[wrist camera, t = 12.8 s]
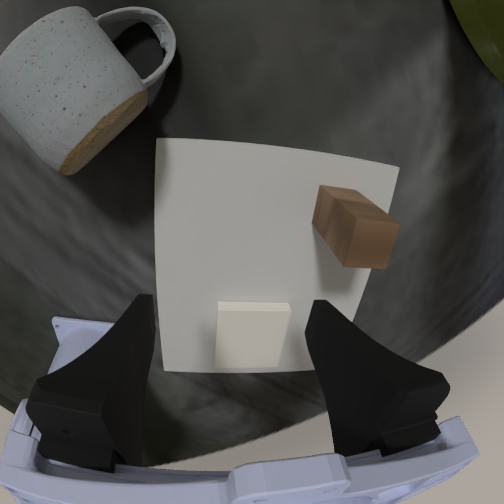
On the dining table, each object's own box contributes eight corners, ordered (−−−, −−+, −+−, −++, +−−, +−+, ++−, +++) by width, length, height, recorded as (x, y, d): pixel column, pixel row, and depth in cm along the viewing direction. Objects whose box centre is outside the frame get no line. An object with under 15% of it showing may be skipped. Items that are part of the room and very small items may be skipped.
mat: (331, 365, 32) (332, 368, 32) (164, 367, 29) (164, 370, 29) (396, 166, 22) (399, 167, 22) (157, 137, 19) (156, 138, 19)
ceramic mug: (90, 168, 19) (42, 204, 13) (27, 95, 16) (-37, 103, 9) (205, 66, 17) (204, 46, 11) (134, -10, 14) (102, -54, 7)
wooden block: (347, 226, 23) (385, 269, 18) (311, 222, 23) (343, 267, 17) (356, 189, 22) (400, 224, 16) (319, 184, 22) (357, 219, 16)
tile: (288, 302, 26) (274, 357, 29) (217, 300, 25) (213, 357, 29) (291, 311, 25) (277, 367, 28) (218, 310, 24) (214, 367, 27)
